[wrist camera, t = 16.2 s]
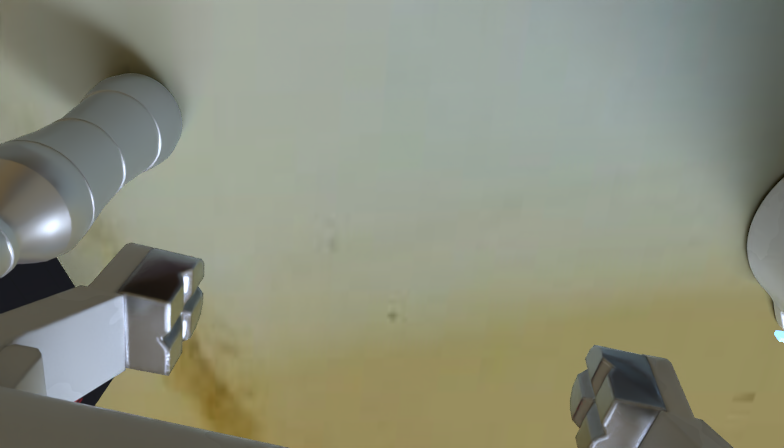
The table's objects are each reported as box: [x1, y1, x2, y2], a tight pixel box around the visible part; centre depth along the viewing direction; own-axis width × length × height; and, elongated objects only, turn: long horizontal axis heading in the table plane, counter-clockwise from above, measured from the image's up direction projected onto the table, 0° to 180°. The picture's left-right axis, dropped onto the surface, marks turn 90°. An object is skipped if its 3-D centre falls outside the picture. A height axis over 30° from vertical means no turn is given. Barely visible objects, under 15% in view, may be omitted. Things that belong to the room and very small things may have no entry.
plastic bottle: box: [0, 73, 182, 278], centre depth 36 cm, size 6×7×20 cm
